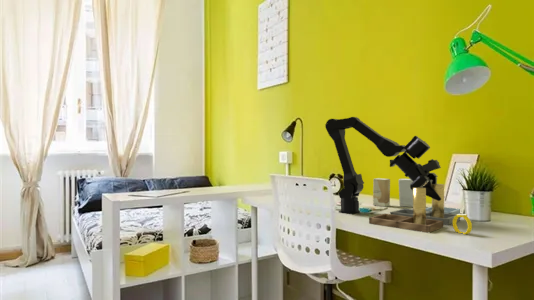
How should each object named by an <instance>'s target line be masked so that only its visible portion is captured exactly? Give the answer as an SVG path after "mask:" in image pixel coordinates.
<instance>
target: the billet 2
mask: <svg viewBox="0 0 534 300" xmlns="http://www.w3.org/2000/svg"><path fill="white" fill-rule="evenodd" d="M432 187H433V188H434V189H435V191H436V192H437V193H438V195H439V196H440V197H441V200H440V201H438V200H435V199H433V198H431V207H432V217H438V218H444V207H445V184H443V183H437V184H432Z"/></svg>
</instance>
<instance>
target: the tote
mask: <svg viewBox="0 0 534 300" xmlns="http://www.w3.org/2000/svg"><path fill="white" fill-rule="evenodd" d="M460 209H461V208H457V209H456V207H446V206H444V213H448V214H456V215H457V214H460ZM426 211H430V212H432V206H428V207H426Z"/></svg>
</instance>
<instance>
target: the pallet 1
mask: <svg viewBox="0 0 534 300" xmlns="http://www.w3.org/2000/svg"><path fill="white" fill-rule="evenodd" d="M368 223H369V224H371V225H377V226H383V227H390V228H397V229H402V230H410V231H417V232H421V231H422V233H428V232H430V233H432V232H435V231H437V230H440V229H442V228H444V225H443V221H439V220H431V219H426V225H422V224H415V223H413V217H408V216H400V215H393V214H390V213H381V214H378V215H374V216H370V217H369V218H368Z"/></svg>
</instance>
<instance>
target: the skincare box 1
mask: <svg viewBox="0 0 534 300" xmlns="http://www.w3.org/2000/svg"><path fill="white" fill-rule="evenodd" d="M372 180H373V183H372V184H373V187H372V192H373V194H372V205H373V206H375V205H376V206H378V207H384V208H386V207H390V205H391V201H390V200H391V179H390V178H381V177H377V178H373V179H372Z"/></svg>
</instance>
